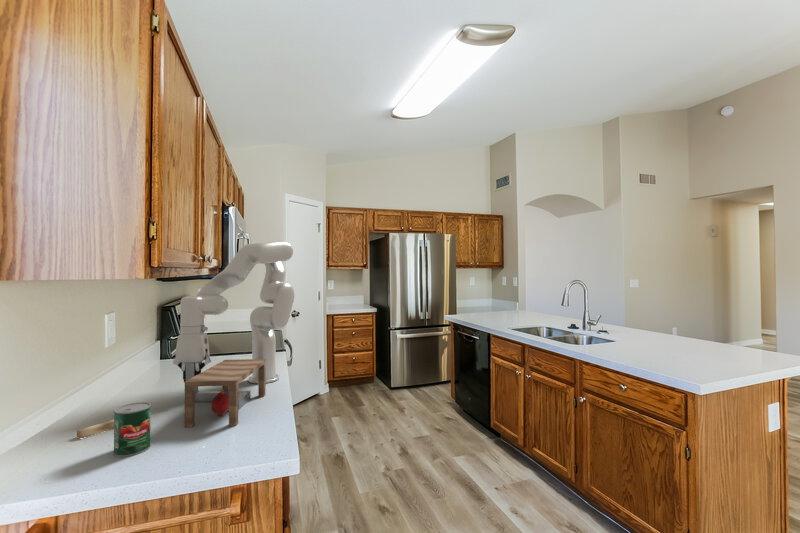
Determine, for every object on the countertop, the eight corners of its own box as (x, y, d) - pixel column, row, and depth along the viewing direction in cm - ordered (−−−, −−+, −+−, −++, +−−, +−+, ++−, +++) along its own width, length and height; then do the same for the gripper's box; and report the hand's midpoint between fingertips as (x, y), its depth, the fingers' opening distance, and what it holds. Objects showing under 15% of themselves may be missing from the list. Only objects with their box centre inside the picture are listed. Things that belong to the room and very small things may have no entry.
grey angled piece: (189, 399, 137) (190, 350, 137) (251, 398, 138) (251, 349, 138) (171, 411, 125) (172, 356, 126) (238, 409, 126) (238, 356, 127)
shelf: (224, 395, 141) (225, 359, 141) (265, 395, 142) (265, 359, 142) (184, 427, 112) (184, 381, 112) (235, 425, 113) (235, 380, 113)
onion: (223, 419, 118) (223, 393, 118) (207, 418, 119) (207, 392, 119) (234, 412, 123) (234, 388, 124) (219, 411, 125) (219, 387, 125)
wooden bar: (131, 421, 118) (131, 413, 118) (135, 422, 116) (136, 415, 116) (76, 438, 105) (76, 430, 105) (80, 440, 104) (80, 431, 104)
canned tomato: (134, 441, 102) (135, 401, 103) (158, 444, 100) (158, 403, 101) (105, 455, 95) (105, 411, 95) (129, 458, 93) (130, 414, 93)
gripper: (219, 328, 140) (219, 378, 140) (175, 329, 139) (174, 378, 139) (210, 331, 132) (210, 384, 132) (163, 332, 132) (162, 384, 131)
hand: (192, 380), depth 136 cm, fingers closed on grey angled piece, 3 cm apart
